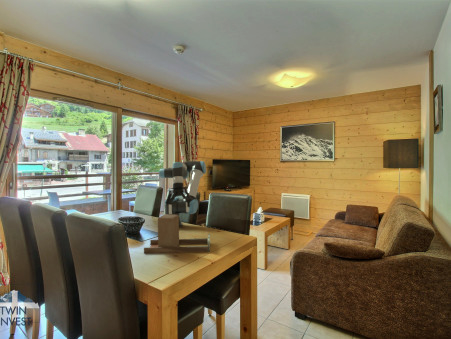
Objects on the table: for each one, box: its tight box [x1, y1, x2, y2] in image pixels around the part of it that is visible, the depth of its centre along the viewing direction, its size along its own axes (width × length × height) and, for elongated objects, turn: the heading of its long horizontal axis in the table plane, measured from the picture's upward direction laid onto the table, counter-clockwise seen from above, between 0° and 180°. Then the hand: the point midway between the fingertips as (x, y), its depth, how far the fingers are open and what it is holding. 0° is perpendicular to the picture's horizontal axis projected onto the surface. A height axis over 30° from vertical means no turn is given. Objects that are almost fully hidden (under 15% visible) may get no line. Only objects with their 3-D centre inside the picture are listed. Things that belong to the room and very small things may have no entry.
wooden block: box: [157, 213, 180, 247], centre depth 149 cm, size 10×10×20 cm
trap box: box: [143, 233, 211, 254], centre depth 149 cm, size 15×38×6 cm, turn 92°
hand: (178, 213), depth 169 cm, fingers open, 13 cm apart
